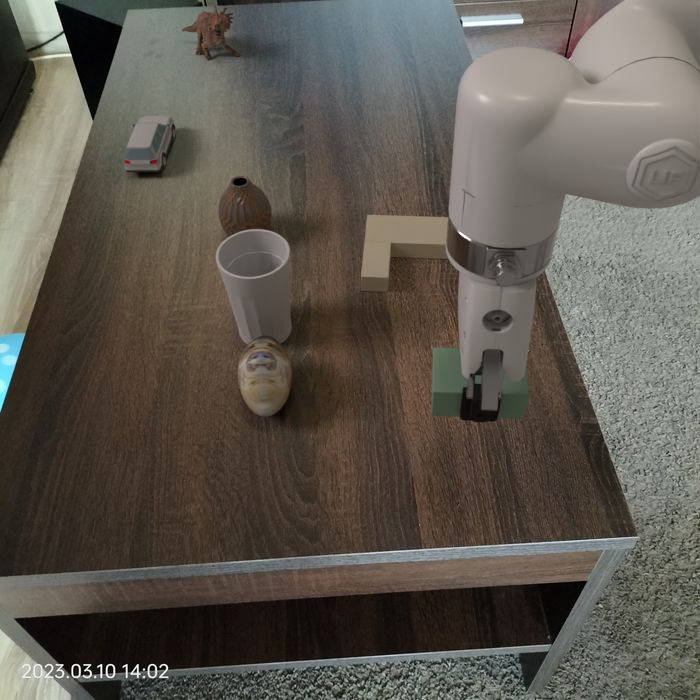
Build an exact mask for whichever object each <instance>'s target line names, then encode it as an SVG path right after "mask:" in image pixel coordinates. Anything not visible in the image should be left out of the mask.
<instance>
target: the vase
mask: <svg viewBox="0 0 700 700" xmlns="http://www.w3.org/2000/svg"><path fill="white" fill-rule="evenodd" d="M218 218H219V222H220V226H221V228H222V229H223V231H224V233H225V234H226V235H227V237H230V236H231V235H233V234H236V233H238V232H241V231H245V230H251V229H263V230H269V231H270V228H271V225H272V222H273V221H272V219H273V213H272V207H271V203H270V201H269V198H268V196H267V195H266V193H265V192H264V191H263V190H262V189H261V188H260V187H259V186H257V185H256V184H255V183H253V182H252V181H251V180H250V178H249V177H248V176H245V175H237V176H234V177H232V179H231V180H230V182H229V185H228V187H226V189H225V191H224V192H223V193H222V195H221V197H220V200H219V204H218Z"/></svg>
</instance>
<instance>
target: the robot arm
mask: <svg viewBox="0 0 700 700" xmlns="http://www.w3.org/2000/svg"><path fill="white" fill-rule="evenodd" d="M454 118H455V119H454V133H453V142H452V143H453V145H452V157H451V170H450V183H449V196H448V197H449V199H448V210H447V211H448V212H447V217H448V222H447V235H446V254H447V257H448V259H447V260H448V261H449V262H450V264H451V265H452V266H453V267H454V269H455V270H456V271H458V272H459V273H458V286H457V287H458V289H457V320H458V321H457V323H458V341H459V348H460V356H461V369H462V375H463V376H464V377H465V378H466V379H467V387H463V391H462V399H461V407H460V417H459V419H460V420H461V421H468V422H469V421H470V422H474V423H486V422H491V423H492V422H493V423H494V422H496V421H498V419H499V418H498V414H499V409H500V404H501V398H502V386H503V377H504V374H505V376H506V378H507V380H508V381H509V382H519V381H521V380H522V378H523V377H524V374H525V368H526V366H527V362H528V361H527V360H528V355H529V349H530V348H529V347H530V341H531V336H532V329H533V321H534V314H535V307H536V291H537V278H538V277H539V276H540V275H542V274H543V273H544V272H545V271H546V270H547V268H548V267H549V266H550V264H551V261H552V257H553V254H554V248H555V245H556V244H555V243H556V239H557V235H558V230H559V227H560V222H561V217H562V216H561V215H562V213H563V208H564V204H565V198H566V195H567V196H573V197H578V198H583V199H587V200H593V201H596V202H602V203H606V204H610V205H615V206H621V207H627V208H632V209H647V210H653V209H654V210H655V209H666V208H672V207H677V206H680V205H683V204H686V203H688V202H691V201H693V200H695V199H697V198H699V197H700V0H622V1H621V2H619V3H618V4H617V5H615V6H614V7H612V8H611V9H610V10H608V11H607V12H606V13H605V14H603V15H602V16H601V17H600V18H599V19H598V20H597V21H595V22H594V23H593V24H592V25H591V26H590V27H589V28H588V29H587V31H586V32H585V33H584V34H583V36H582V37H581V38H580V39H579V40H578V42H577V44H576V46H575V48H574V49H573V50H572V52H571V55H570V59H568V58H567V57H565V55H562V54H559V53H558V52H555V51H552V50H549V49H545V48H539V47H533V46H509V47H503V48H499V49H495V50H492V51H489V52H487V53H485V54H482V55H481V56H479V57H478V58H476V59H475V60H473V62H472V63H471V64H470V65H468V66H467V68H466V69H465V71H464V73H463V75H462V76H461V78H460V81H459V84H458V88H457V96H456V107H455V117H454ZM481 361H482V362H481ZM475 375H482V378H481V384H475Z"/></svg>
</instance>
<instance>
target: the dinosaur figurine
mask: <svg viewBox="0 0 700 700" xmlns="http://www.w3.org/2000/svg"><path fill="white" fill-rule="evenodd" d="M213 6H214V7H213V12H212V11H208V12H207V11H202V12H201V13H199V14H198V16H197V19H196V20H195V21H194V23H192V25H189V26H186V27H183V28H182V29H181V32H187V33H196V34H197V37H196V38H197V46H196V51H195V52H194V53H195V55H199V56H201V55H202V54H203V55H204V54H205V55H204V57H205V59H206V61H211V60H213V59H214V57H213V56H212V55H211V54H210V49H208V48H209V47H210V48H211V49H212V48H214V49H215V48H217V49H218V48H221V47H223V49H225V50H226V51H229V52H230V53H232V55H233V56H234V57H239V56H241V52H239V51H237V50H236V49H235V48H234V47H232V46H231V45H229V44H228V43H227V42H226V37H225V33H228V31H230V29H231V25H232V24H234V22H233V20H234V19H235V18H234V17H233V15H234V13H233V12H228V13H226V11H227V10H228V7H224V8H222V10H221V11H219V12H218V10H217V9H218V8H217V6H216V5H213Z"/></svg>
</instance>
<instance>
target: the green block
mask: <svg viewBox="0 0 700 700" xmlns="http://www.w3.org/2000/svg"><path fill="white" fill-rule="evenodd" d="M481 362H482V361H481ZM481 378H482V375H475V384H481ZM529 386H530V385H529V377H528V368H527V365H526V368H525V374H524V377H523V378H522V380H521V381H519V382H509V381H508V380H507V378H506V376H505V374H504V377H503V386H502V398H501V404H500V409H499V414H498V419H507V420H524V419H525V415H526V411H527V407H528V403H529V399H530V388H529ZM463 387H467V379H466V378H465V377H464V376H463V375H462V369H461V356H460V347H433V348H432V362H431V390H430V391H431V395H430V396H431V398H430V399H431V400H430V401H431V404H430V405H431V407H430V408H431V410H430V414H431V416H433V417H455V418H456V417H457V418H460V407H461V399H462V391H463Z"/></svg>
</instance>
